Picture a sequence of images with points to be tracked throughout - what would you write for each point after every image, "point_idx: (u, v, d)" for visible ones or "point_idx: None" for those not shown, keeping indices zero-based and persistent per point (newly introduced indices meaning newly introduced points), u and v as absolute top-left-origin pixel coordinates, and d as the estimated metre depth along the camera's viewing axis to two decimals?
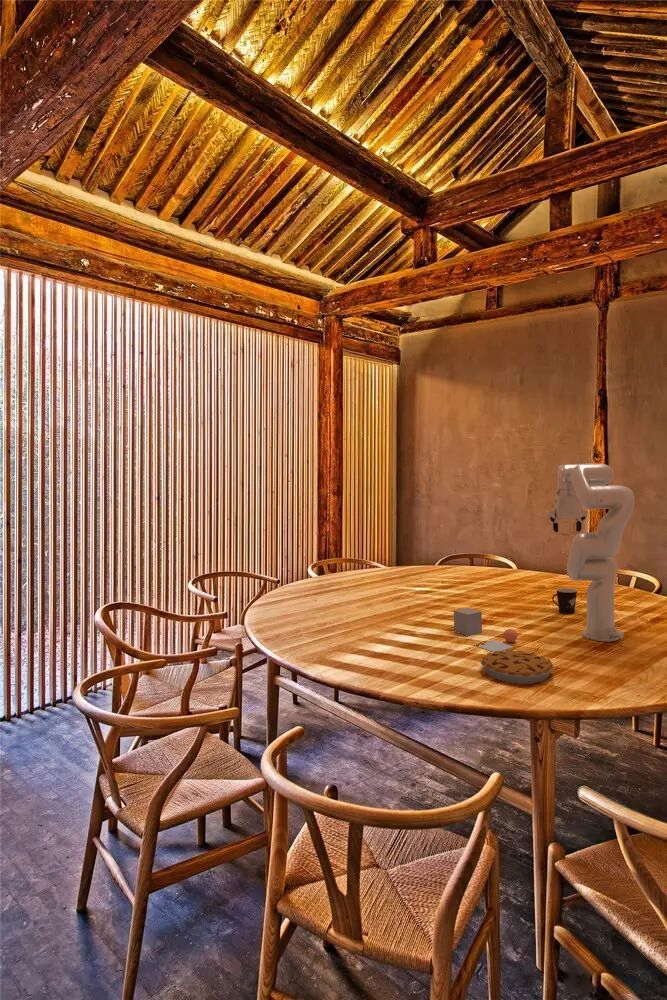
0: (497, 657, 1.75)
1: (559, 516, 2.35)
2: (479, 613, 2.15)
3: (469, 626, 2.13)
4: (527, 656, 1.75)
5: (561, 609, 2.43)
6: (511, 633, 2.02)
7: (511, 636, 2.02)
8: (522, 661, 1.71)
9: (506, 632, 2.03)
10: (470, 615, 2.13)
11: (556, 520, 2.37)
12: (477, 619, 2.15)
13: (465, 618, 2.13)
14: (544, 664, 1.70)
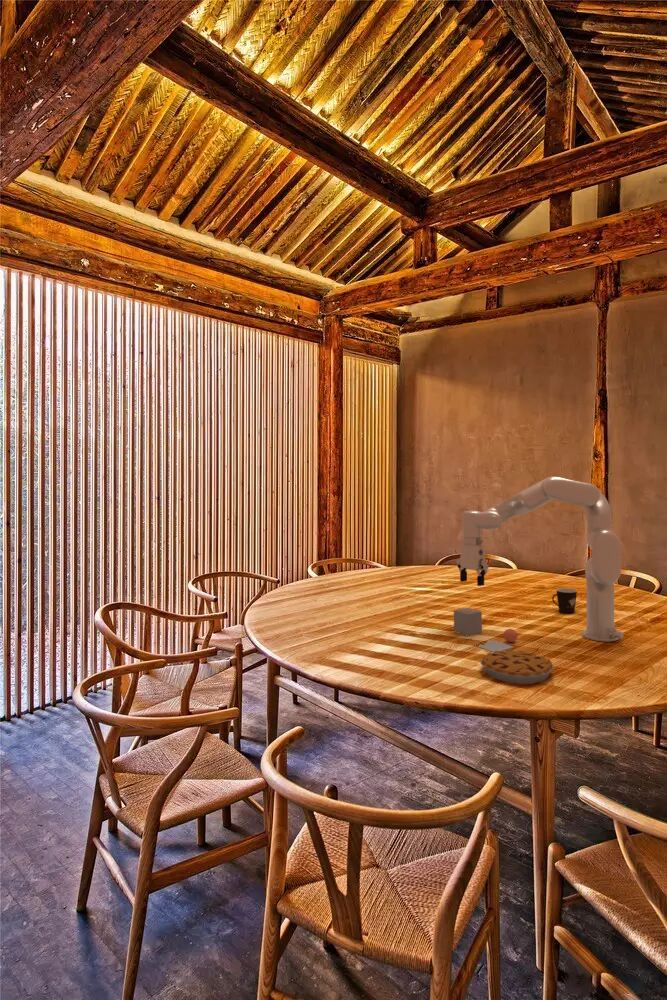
0: (497, 657, 1.75)
1: None
2: (479, 613, 2.15)
3: (469, 626, 2.13)
4: (527, 656, 1.75)
5: (561, 609, 2.43)
6: (511, 633, 2.02)
7: (511, 636, 2.02)
8: (522, 661, 1.71)
9: (506, 632, 2.03)
10: (470, 615, 2.13)
11: None
12: (477, 619, 2.15)
13: (465, 618, 2.13)
14: (544, 664, 1.70)
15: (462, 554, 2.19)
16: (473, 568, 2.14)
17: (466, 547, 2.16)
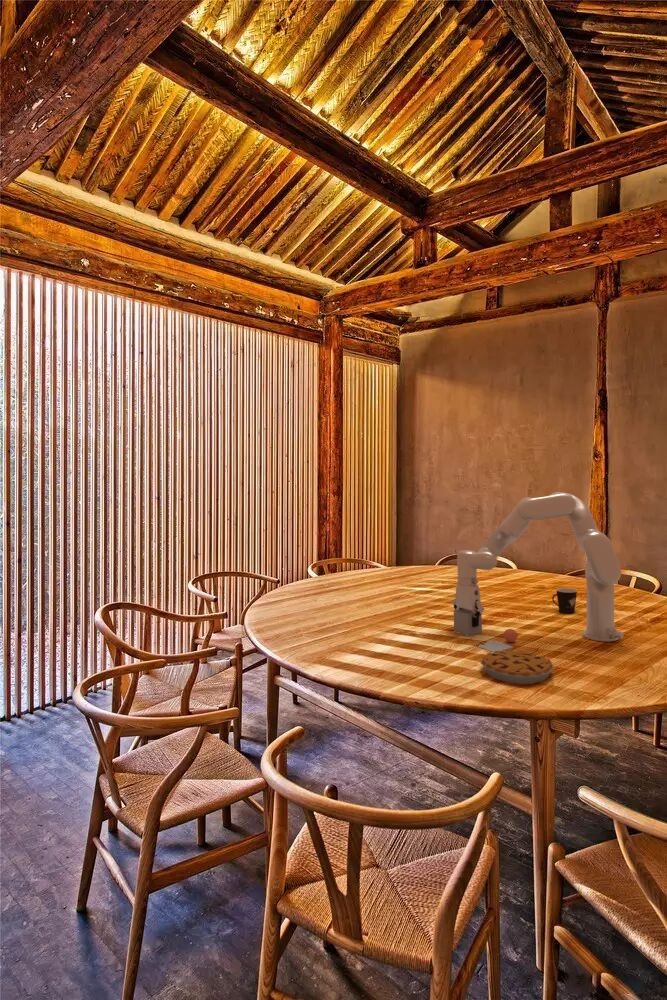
0: (497, 657, 1.75)
1: None
2: None
3: (469, 626, 2.13)
4: (527, 656, 1.75)
5: (561, 609, 2.43)
6: (511, 633, 2.02)
7: (511, 636, 2.02)
8: (522, 661, 1.71)
9: (506, 632, 2.03)
10: (470, 615, 2.13)
11: None
12: None
13: (464, 618, 2.13)
14: (544, 664, 1.70)
15: (457, 594, 2.18)
16: (469, 608, 2.13)
17: (461, 587, 2.16)
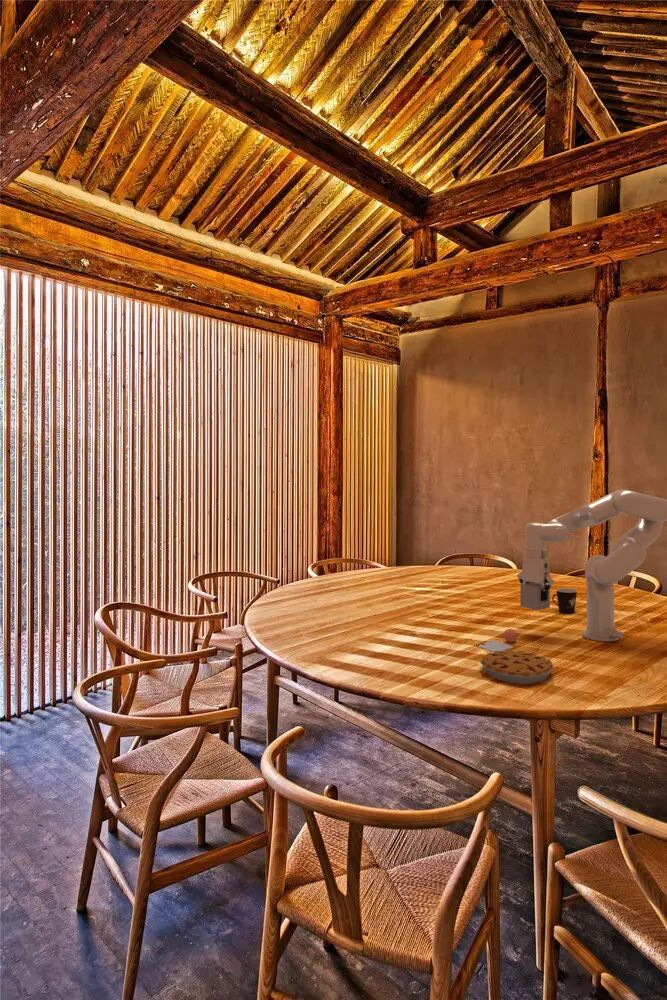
0: (497, 657, 1.75)
1: None
2: None
3: (538, 599, 2.07)
4: (527, 656, 1.75)
5: (561, 609, 2.43)
6: (511, 633, 2.02)
7: (511, 636, 2.02)
8: (522, 661, 1.71)
9: (506, 632, 2.03)
10: (539, 589, 2.07)
11: None
12: None
13: (533, 591, 2.07)
14: (544, 664, 1.70)
15: (524, 567, 2.12)
16: (538, 582, 2.07)
17: (529, 560, 2.10)
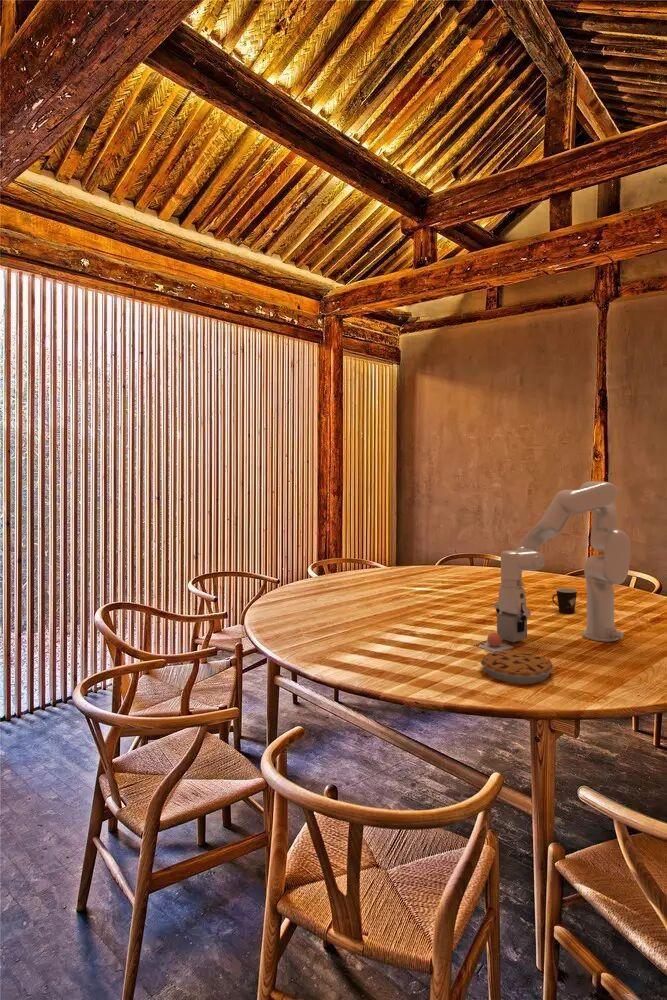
0: (497, 657, 1.75)
1: None
2: None
3: (515, 630, 2.00)
4: (527, 656, 1.75)
5: (561, 609, 2.43)
6: None
7: None
8: (522, 661, 1.71)
9: None
10: (516, 620, 2.00)
11: None
12: None
13: (509, 622, 2.00)
14: (544, 664, 1.70)
15: (501, 597, 2.05)
16: (514, 613, 2.00)
17: (505, 590, 2.03)
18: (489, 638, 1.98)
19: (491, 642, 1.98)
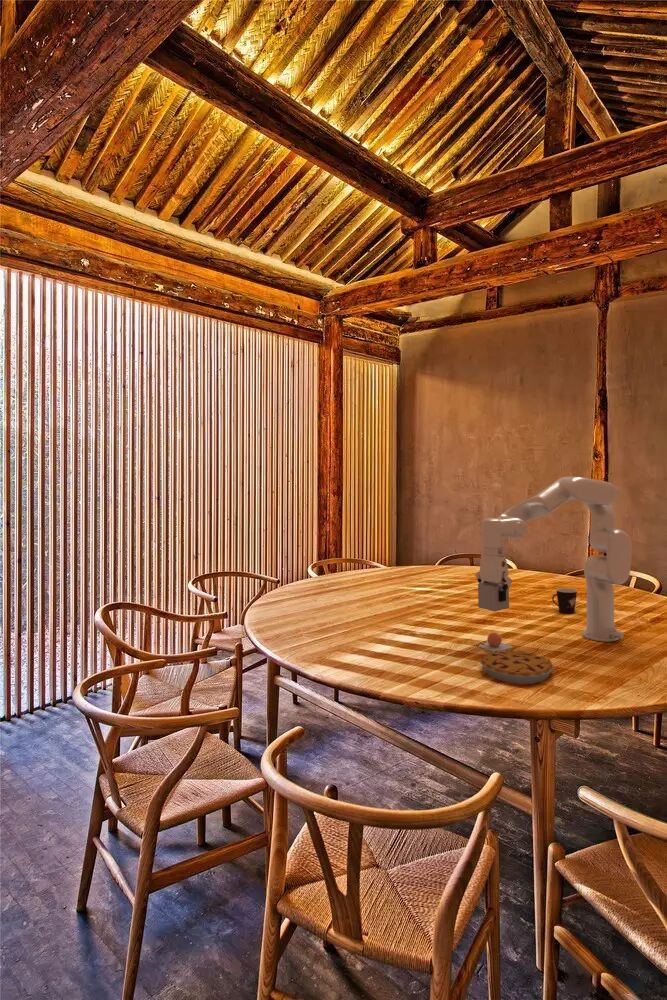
0: (497, 657, 1.75)
1: None
2: None
3: (496, 600, 1.94)
4: (527, 656, 1.75)
5: (561, 609, 2.43)
6: None
7: None
8: (522, 661, 1.71)
9: None
10: (497, 588, 1.94)
11: None
12: None
13: (490, 591, 1.94)
14: (544, 664, 1.70)
15: (482, 566, 1.99)
16: (495, 581, 1.95)
17: (486, 559, 1.97)
18: (489, 638, 1.98)
19: (491, 642, 1.98)
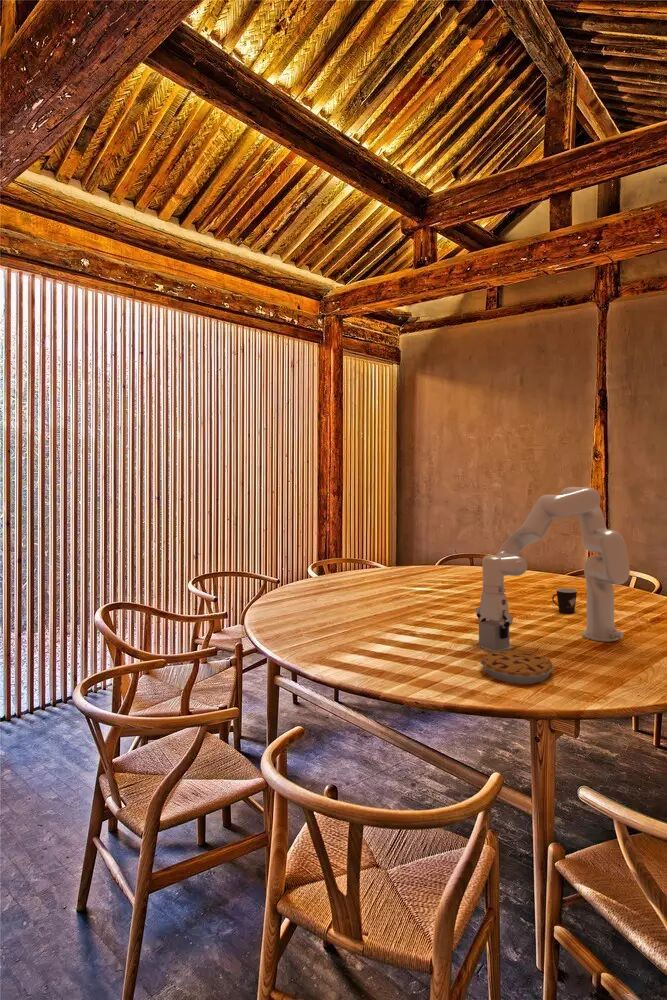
0: (497, 657, 1.75)
1: None
2: None
3: (497, 639, 1.95)
4: (527, 656, 1.75)
5: (561, 609, 2.43)
6: None
7: None
8: (522, 661, 1.71)
9: None
10: (497, 628, 1.95)
11: None
12: None
13: (491, 631, 1.95)
14: (544, 664, 1.70)
15: (482, 603, 2.00)
16: (495, 619, 1.95)
17: (487, 596, 1.98)
18: None
19: None
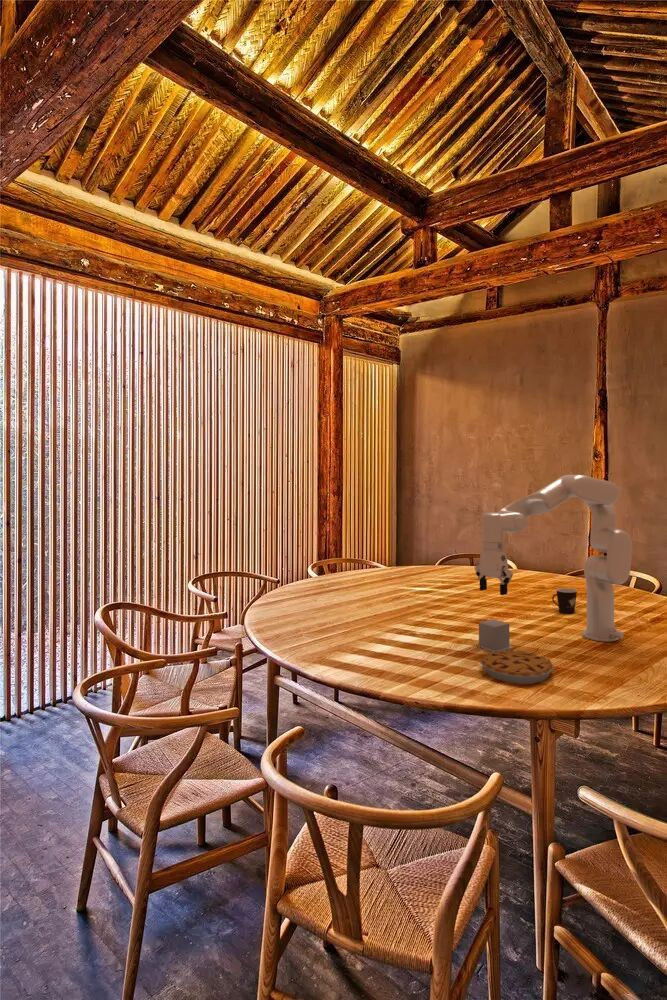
0: (497, 657, 1.75)
1: None
2: (507, 625, 1.97)
3: (497, 639, 1.95)
4: (527, 656, 1.75)
5: (561, 609, 2.43)
6: None
7: None
8: (522, 661, 1.71)
9: None
10: (497, 628, 1.95)
11: None
12: (504, 631, 1.97)
13: (491, 631, 1.95)
14: (544, 664, 1.70)
15: (482, 560, 1.99)
16: (495, 576, 1.95)
17: (486, 553, 1.97)
18: None
19: None
